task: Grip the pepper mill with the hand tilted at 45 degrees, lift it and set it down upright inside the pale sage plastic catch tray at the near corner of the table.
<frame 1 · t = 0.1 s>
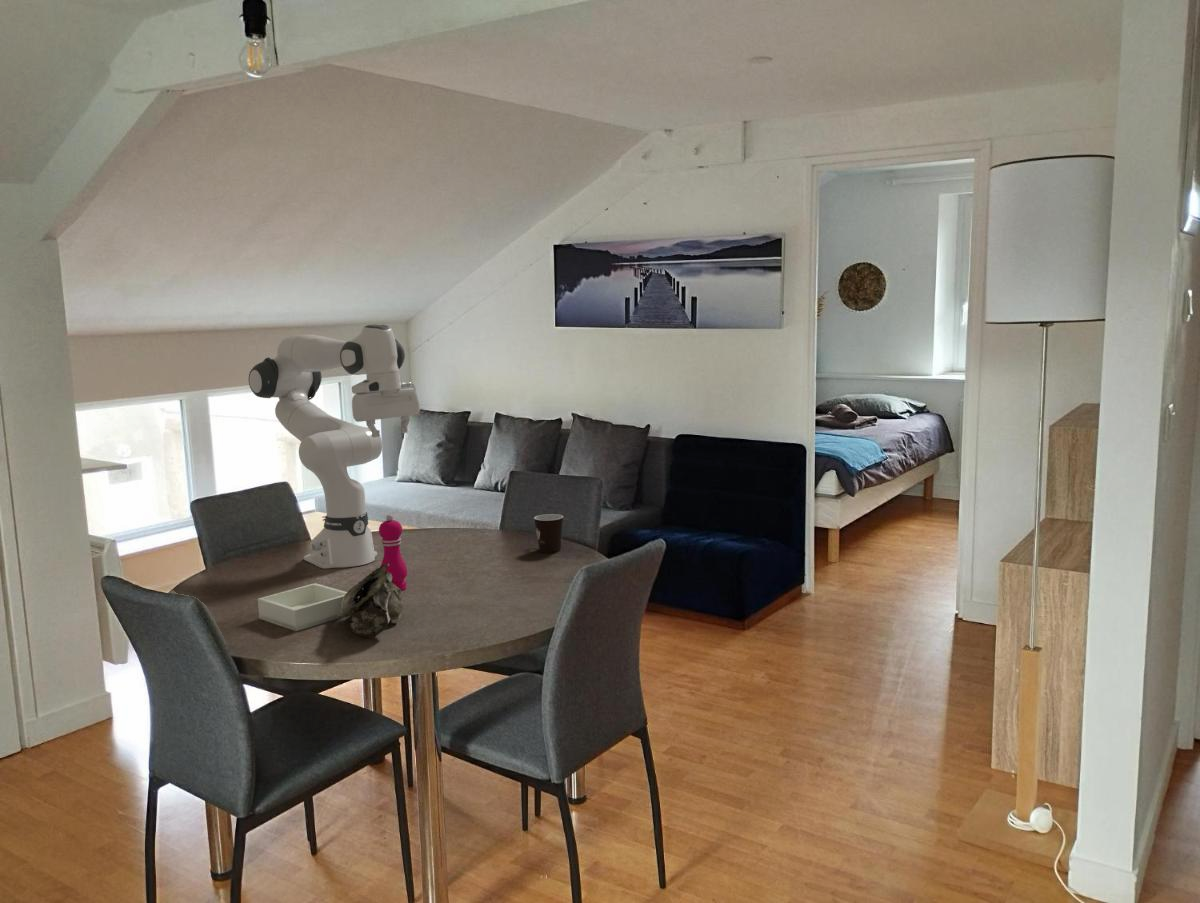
hand: (390, 435, 271), 39 cm above the table, tool pointing down, fingers open, 8 cm apart
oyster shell: (370, 627, 233), on the table, touching catch tray
dark brown cup: (550, 549, 300), on the table
catch tray: (306, 616, 242), on the table
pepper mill: (394, 589, 263), on the table
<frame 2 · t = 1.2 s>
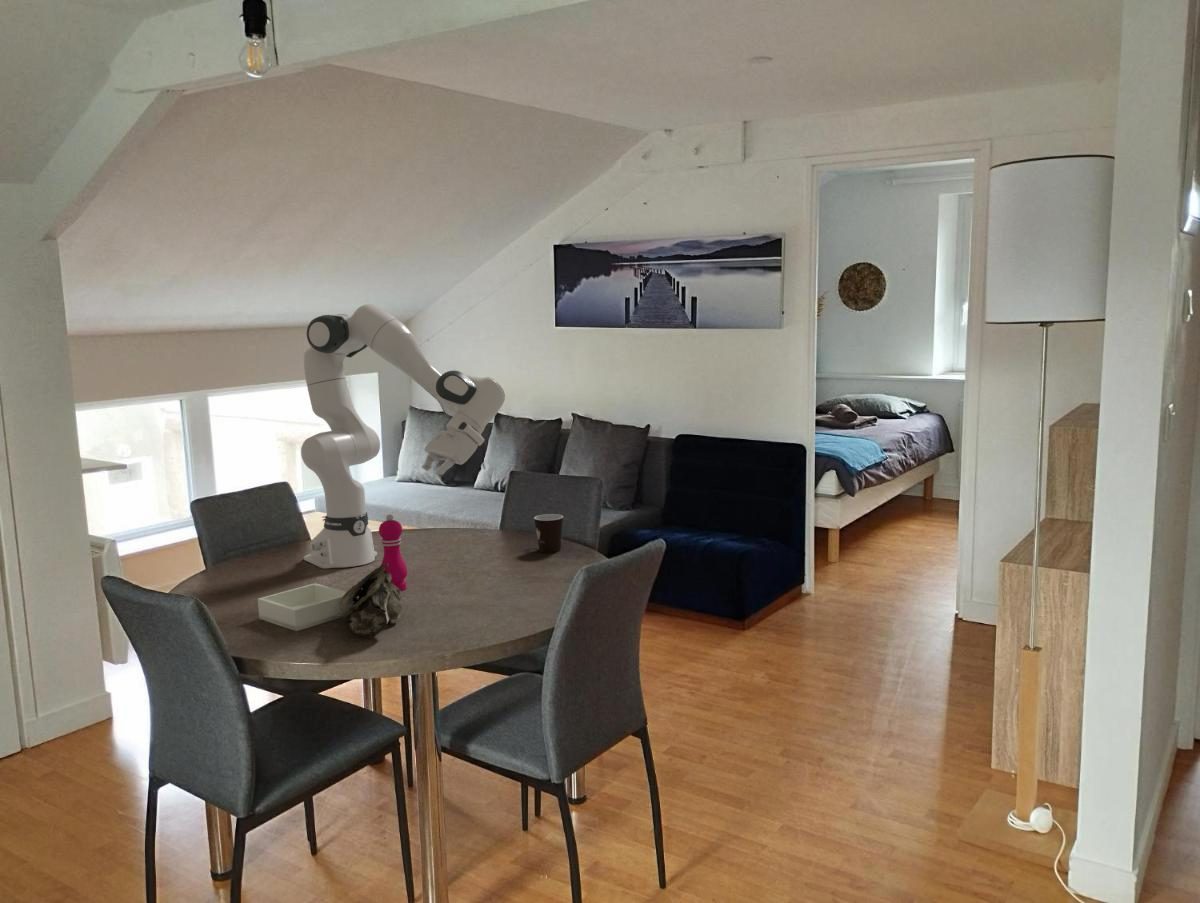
hand: (431, 471, 265), 30 cm above the table, tool tilted 45°, fingers open, 8 cm apart
nothing on the table moved.
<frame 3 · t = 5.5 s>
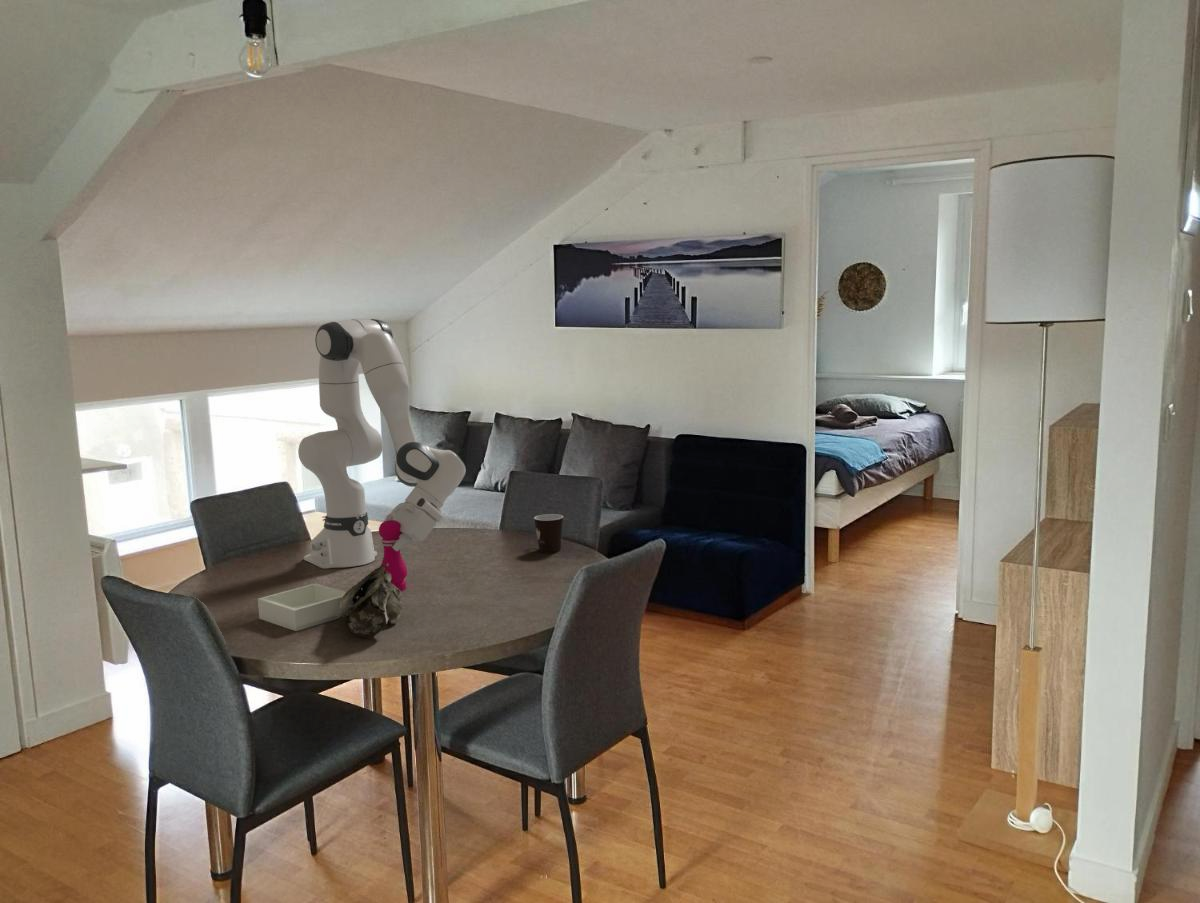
hand: (389, 547, 261), 11 cm above the table, tool tilted 45°, fingers closed on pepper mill, 5 cm apart
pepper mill: (394, 589, 263), on the table, touching gripper
everything else where it was.
when the fingers open (14 cm above the table, at t = 13.0 s): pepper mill moves 2 cm, resting on catch tray.
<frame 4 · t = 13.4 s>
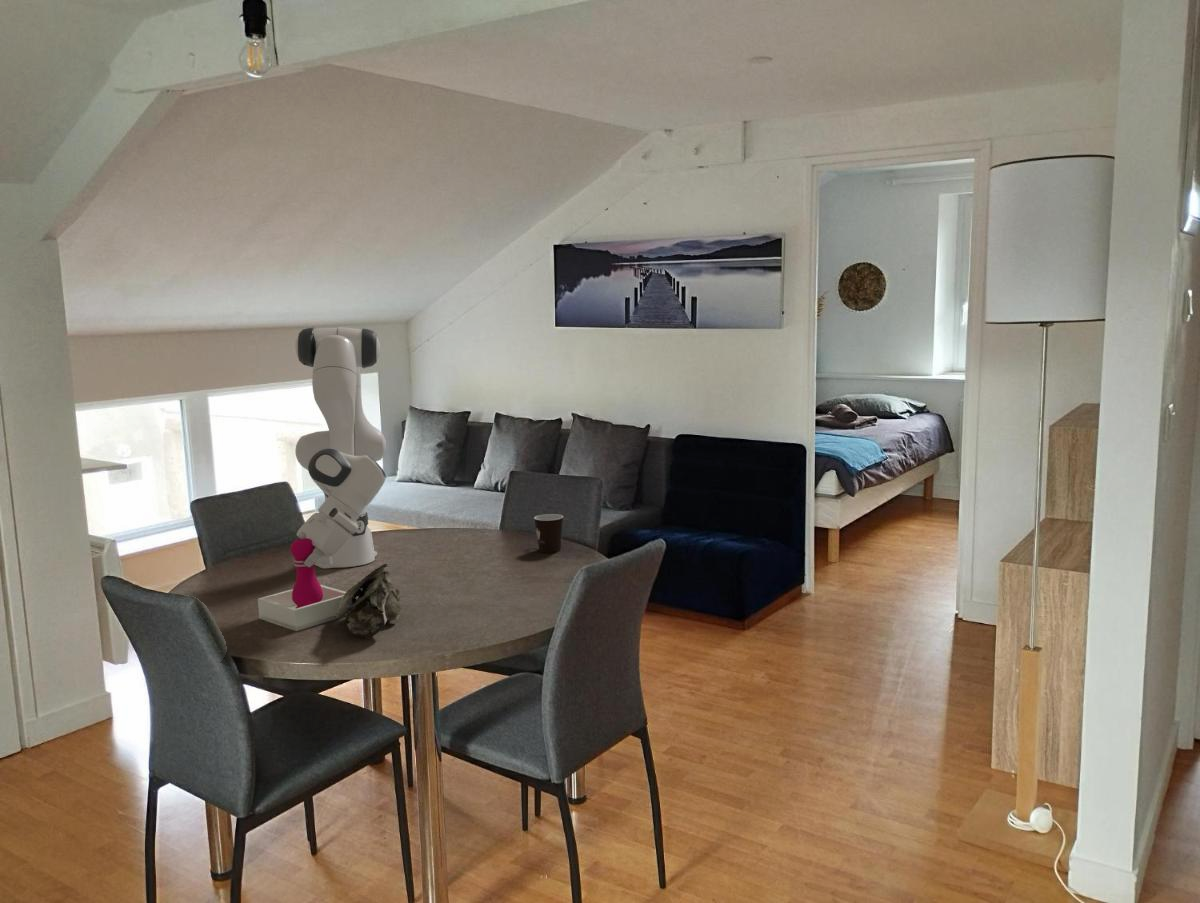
hand: (299, 561, 240), 14 cm above the table, tool tilted 45°, fingers open, 8 cm apart
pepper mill: (309, 614, 241), point 1 cm above the table, touching catch tray, gripper
everything else where it was.
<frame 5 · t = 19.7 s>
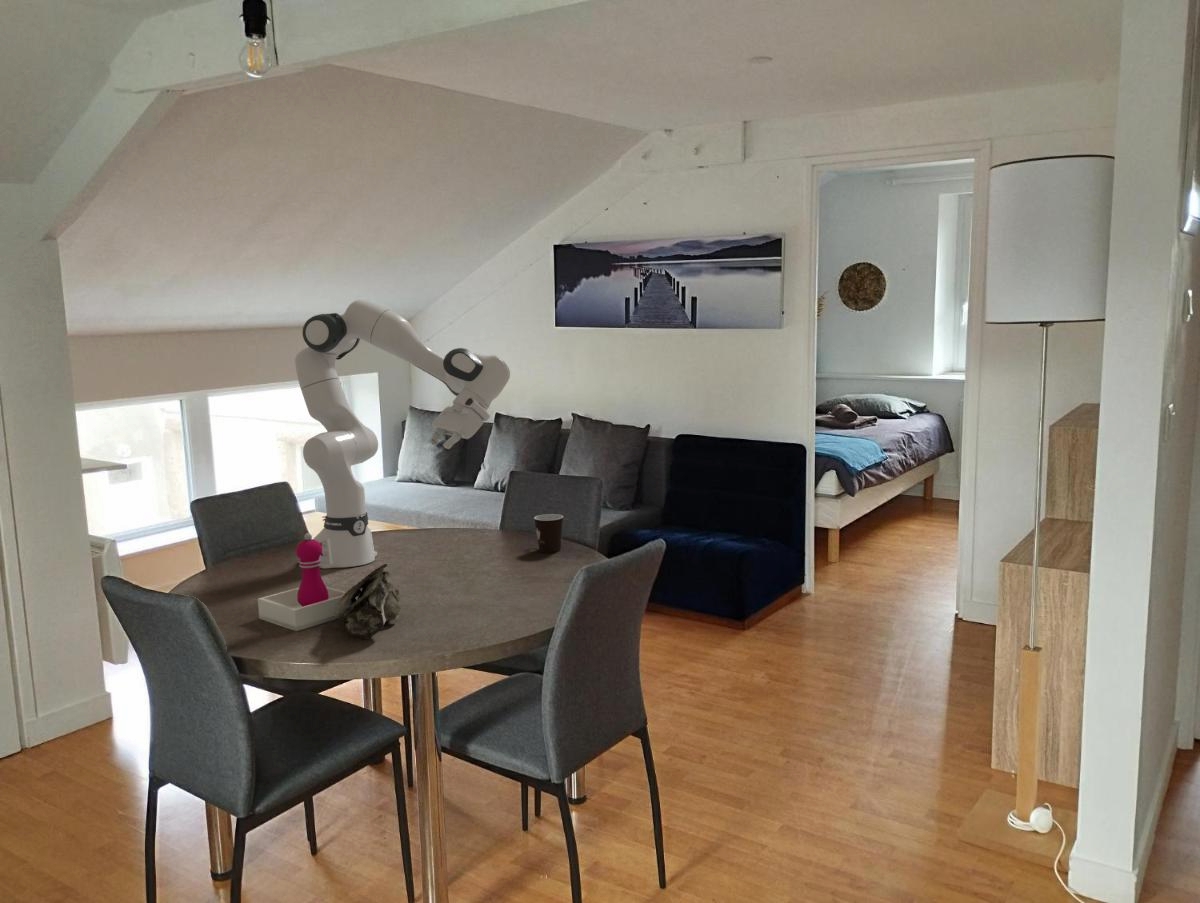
hand: (438, 445, 273), 35 cm above the table, tool tilted 45°, fingers open, 8 cm apart
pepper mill: (314, 615, 240), point 1 cm above the table, touching catch tray
everything else where it was.
at the end: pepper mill inside the target area on the catch tray (3.3 cm from its centre), point 0.8 cm above the catch tray's base; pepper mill tilted 0°; the gripper is holding nothing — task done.
